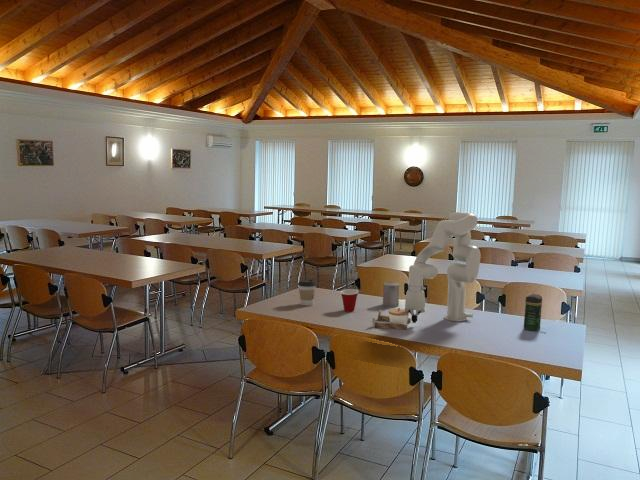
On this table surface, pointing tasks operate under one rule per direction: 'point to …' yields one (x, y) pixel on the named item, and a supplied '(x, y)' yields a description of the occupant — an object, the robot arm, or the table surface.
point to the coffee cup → (307, 291)
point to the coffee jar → (533, 312)
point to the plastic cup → (349, 299)
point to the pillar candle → (390, 294)
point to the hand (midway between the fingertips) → (414, 322)
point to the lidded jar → (398, 316)
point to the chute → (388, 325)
